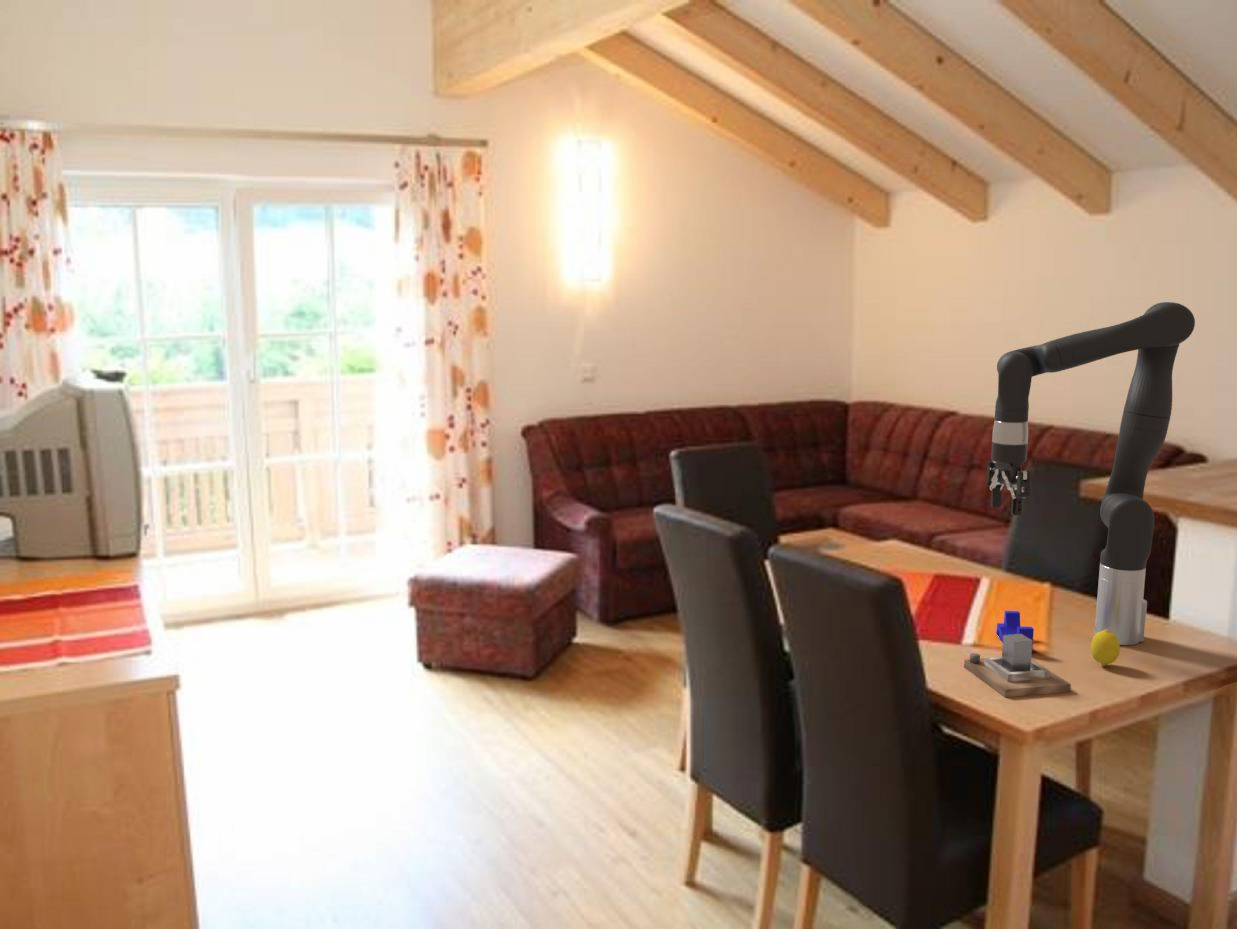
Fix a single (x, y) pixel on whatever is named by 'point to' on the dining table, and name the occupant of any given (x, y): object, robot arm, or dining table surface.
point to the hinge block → (1016, 653)
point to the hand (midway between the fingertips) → (1005, 510)
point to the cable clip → (1013, 626)
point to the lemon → (1105, 647)
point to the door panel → (1016, 677)
